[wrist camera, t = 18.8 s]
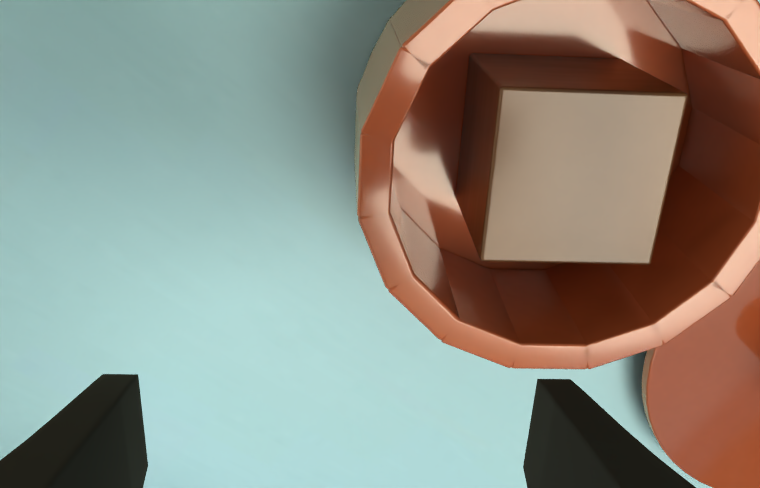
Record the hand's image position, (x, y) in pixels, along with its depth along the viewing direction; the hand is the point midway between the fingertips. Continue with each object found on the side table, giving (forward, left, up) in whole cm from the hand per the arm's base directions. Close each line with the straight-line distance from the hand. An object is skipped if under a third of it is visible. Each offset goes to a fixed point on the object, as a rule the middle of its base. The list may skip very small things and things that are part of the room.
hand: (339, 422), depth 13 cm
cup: (+6, -2, -10) cm, 12 cm away
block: (+6, -2, -10) cm, 12 cm away
